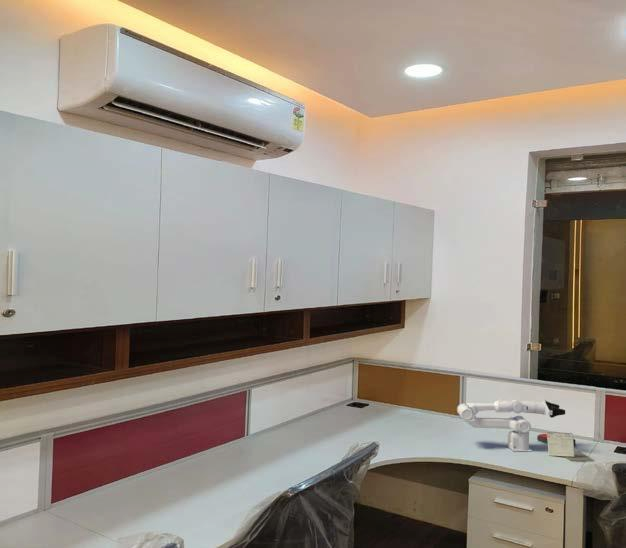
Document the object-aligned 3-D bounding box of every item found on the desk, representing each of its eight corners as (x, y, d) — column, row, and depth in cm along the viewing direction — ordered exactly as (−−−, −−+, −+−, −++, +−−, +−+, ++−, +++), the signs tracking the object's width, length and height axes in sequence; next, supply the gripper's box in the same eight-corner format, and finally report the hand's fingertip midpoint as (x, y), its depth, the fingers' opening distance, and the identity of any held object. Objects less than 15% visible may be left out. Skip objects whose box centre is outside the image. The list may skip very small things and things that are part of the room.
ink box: (574, 455, 268) (572, 431, 268) (574, 457, 266) (572, 433, 265) (548, 454, 273) (546, 430, 272) (548, 455, 270) (546, 431, 270)
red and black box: (551, 431, 300) (575, 438, 286) (551, 439, 299) (576, 446, 286) (536, 434, 295) (560, 440, 281) (537, 442, 295) (561, 449, 281)
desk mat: (571, 461, 262) (571, 460, 262) (557, 451, 276) (557, 450, 276) (594, 461, 262) (594, 460, 262) (579, 452, 276) (579, 450, 276)
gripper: (539, 404, 272) (568, 406, 271) (530, 395, 286) (557, 397, 286) (538, 418, 272) (567, 420, 272) (528, 409, 287) (555, 411, 286)
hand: (561, 409), depth 279 cm, fingers open, 7 cm apart
